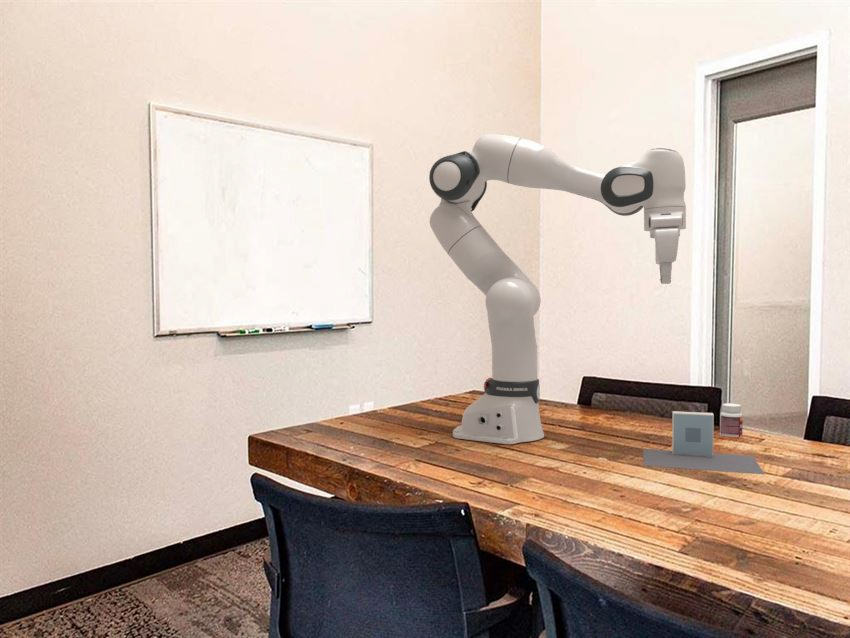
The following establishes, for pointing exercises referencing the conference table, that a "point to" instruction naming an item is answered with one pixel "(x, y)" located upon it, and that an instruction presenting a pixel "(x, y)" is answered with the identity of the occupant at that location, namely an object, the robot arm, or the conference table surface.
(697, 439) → the tile
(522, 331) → the robot arm
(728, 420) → the pill bottle
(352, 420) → the conference table surface
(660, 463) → the mat
